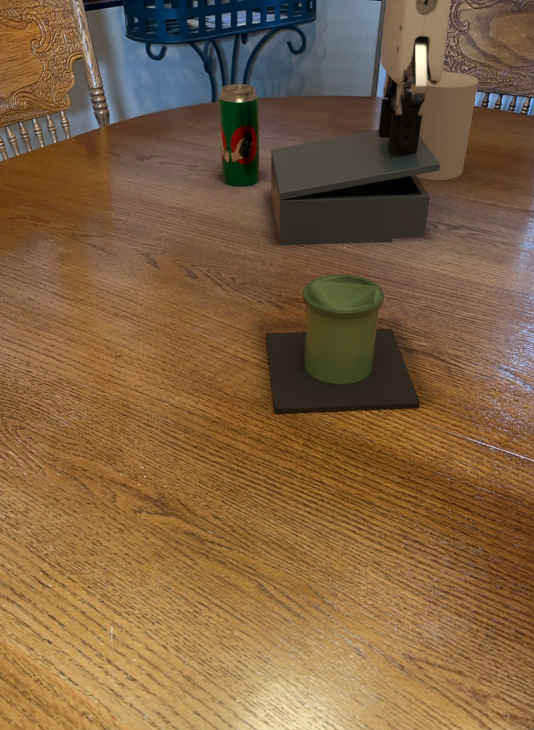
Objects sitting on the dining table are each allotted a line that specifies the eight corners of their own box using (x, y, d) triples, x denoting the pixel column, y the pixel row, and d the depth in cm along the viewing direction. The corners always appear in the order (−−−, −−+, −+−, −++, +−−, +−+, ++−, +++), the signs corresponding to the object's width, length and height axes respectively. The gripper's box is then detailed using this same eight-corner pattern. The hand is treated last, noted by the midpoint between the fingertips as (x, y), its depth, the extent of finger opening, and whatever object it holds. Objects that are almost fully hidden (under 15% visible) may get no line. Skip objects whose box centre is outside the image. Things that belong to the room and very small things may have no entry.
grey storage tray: (397, 199, 92) (402, 153, 88) (422, 247, 81) (430, 196, 77) (271, 203, 91) (271, 156, 87) (279, 251, 80) (280, 200, 76)
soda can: (266, 183, 96) (266, 86, 88) (245, 195, 93) (242, 95, 85) (237, 176, 98) (233, 81, 90) (215, 187, 95) (210, 89, 87)
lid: (410, 129, 86) (409, 77, 82) (439, 170, 75) (440, 112, 71) (271, 156, 87) (264, 106, 83) (280, 200, 76) (272, 144, 72)
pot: (368, 344, 64) (376, 272, 60) (381, 385, 59) (391, 311, 55) (297, 346, 64) (299, 275, 59) (304, 388, 59) (307, 314, 54)
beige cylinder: (467, 169, 100) (484, 75, 92) (453, 188, 94) (470, 90, 86) (412, 162, 102) (423, 69, 94) (395, 180, 97) (406, 83, 89)
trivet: (391, 332, 67) (392, 328, 66) (419, 407, 58) (420, 402, 57) (266, 337, 66) (266, 332, 66) (274, 413, 57) (274, 408, 57)
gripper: (485, -42, 62) (447, 170, 74) (438, -62, 74) (412, 122, 87) (401, -43, 61) (377, 171, 74) (368, -62, 74) (352, 123, 86)
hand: (396, 143), depth 80 cm, fingers closed on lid, 5 cm apart
